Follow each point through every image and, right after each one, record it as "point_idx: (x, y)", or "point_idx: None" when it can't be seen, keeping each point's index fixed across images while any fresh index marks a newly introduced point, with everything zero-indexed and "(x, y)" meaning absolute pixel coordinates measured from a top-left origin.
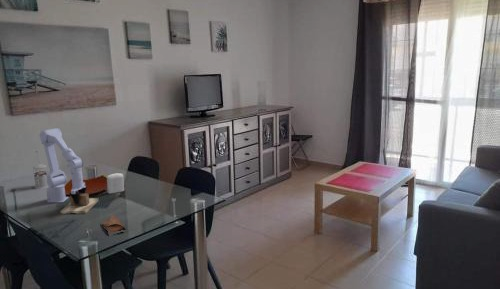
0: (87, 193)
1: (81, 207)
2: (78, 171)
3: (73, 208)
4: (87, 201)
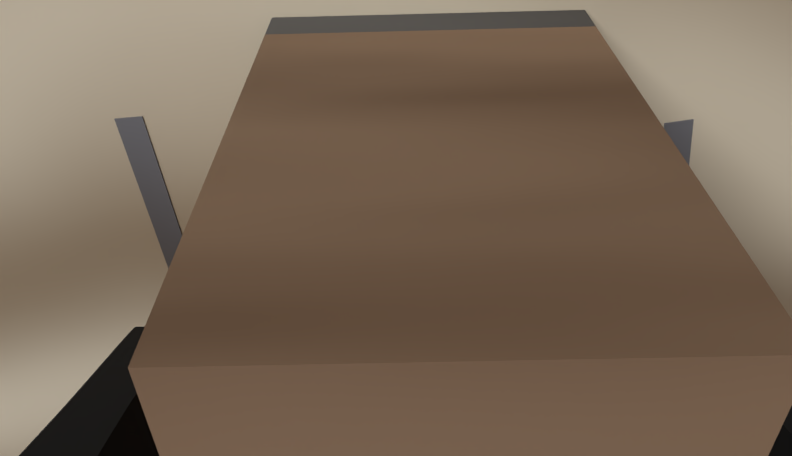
0: (161, 418)
1: (749, 138)
2: None
3: None
4: (473, 72)
